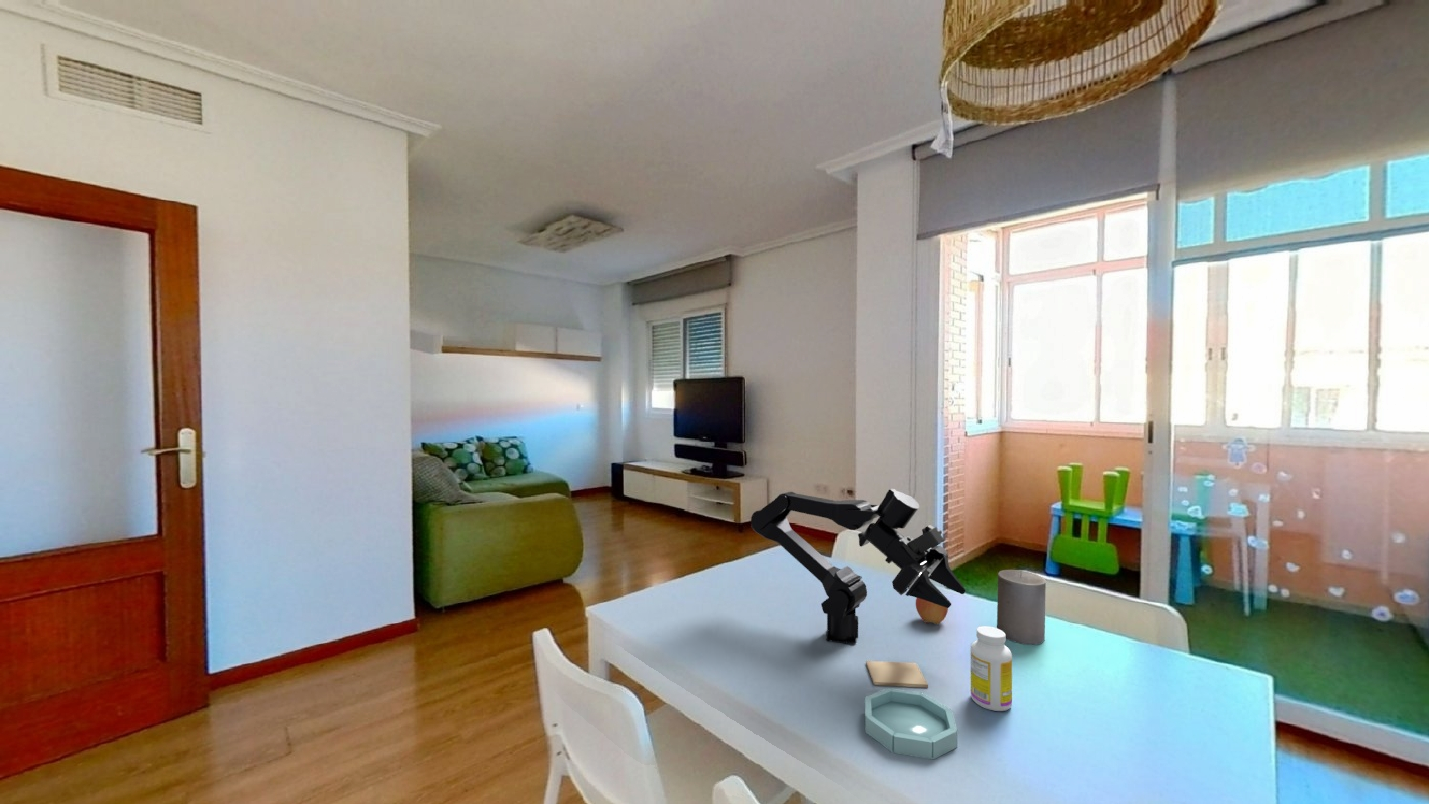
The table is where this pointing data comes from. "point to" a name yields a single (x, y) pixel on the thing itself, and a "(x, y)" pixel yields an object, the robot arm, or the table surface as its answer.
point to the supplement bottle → (991, 670)
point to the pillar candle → (1021, 606)
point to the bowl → (910, 723)
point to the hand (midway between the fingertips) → (957, 599)
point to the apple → (930, 611)
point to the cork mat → (896, 674)
